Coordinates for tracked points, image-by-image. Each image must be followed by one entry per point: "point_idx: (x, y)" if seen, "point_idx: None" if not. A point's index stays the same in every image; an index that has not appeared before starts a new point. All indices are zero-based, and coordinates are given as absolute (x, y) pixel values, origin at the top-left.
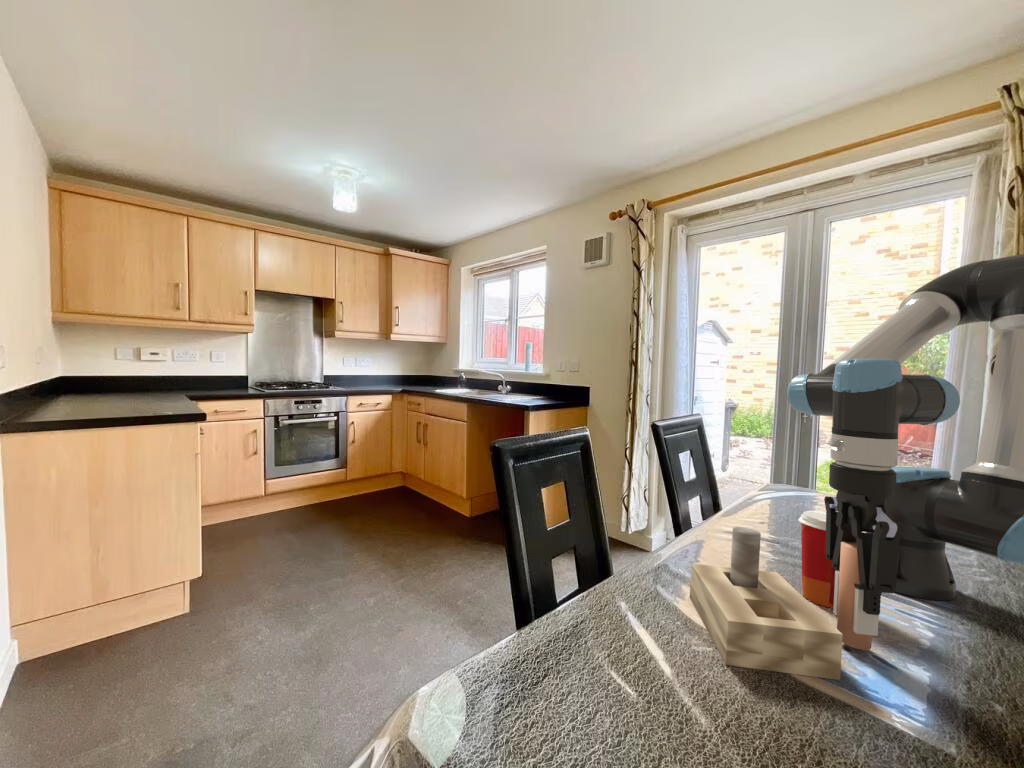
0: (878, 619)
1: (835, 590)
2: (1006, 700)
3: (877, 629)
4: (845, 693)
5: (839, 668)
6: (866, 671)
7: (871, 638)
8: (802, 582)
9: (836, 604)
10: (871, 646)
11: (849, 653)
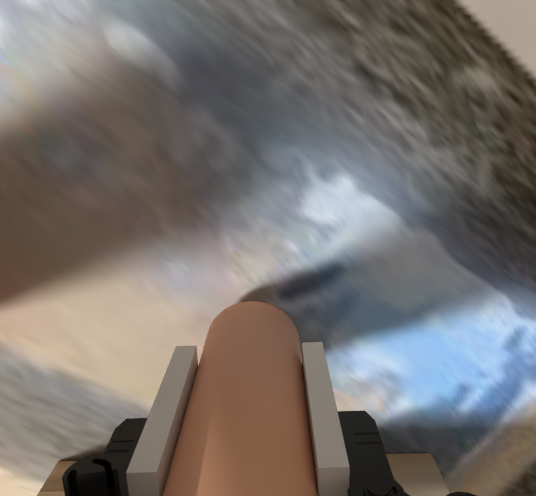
0: (328, 374)
1: None
2: (444, 17)
3: (324, 355)
4: (481, 464)
5: (442, 478)
6: (375, 363)
7: (285, 327)
8: None
9: None
10: (279, 310)
11: None
